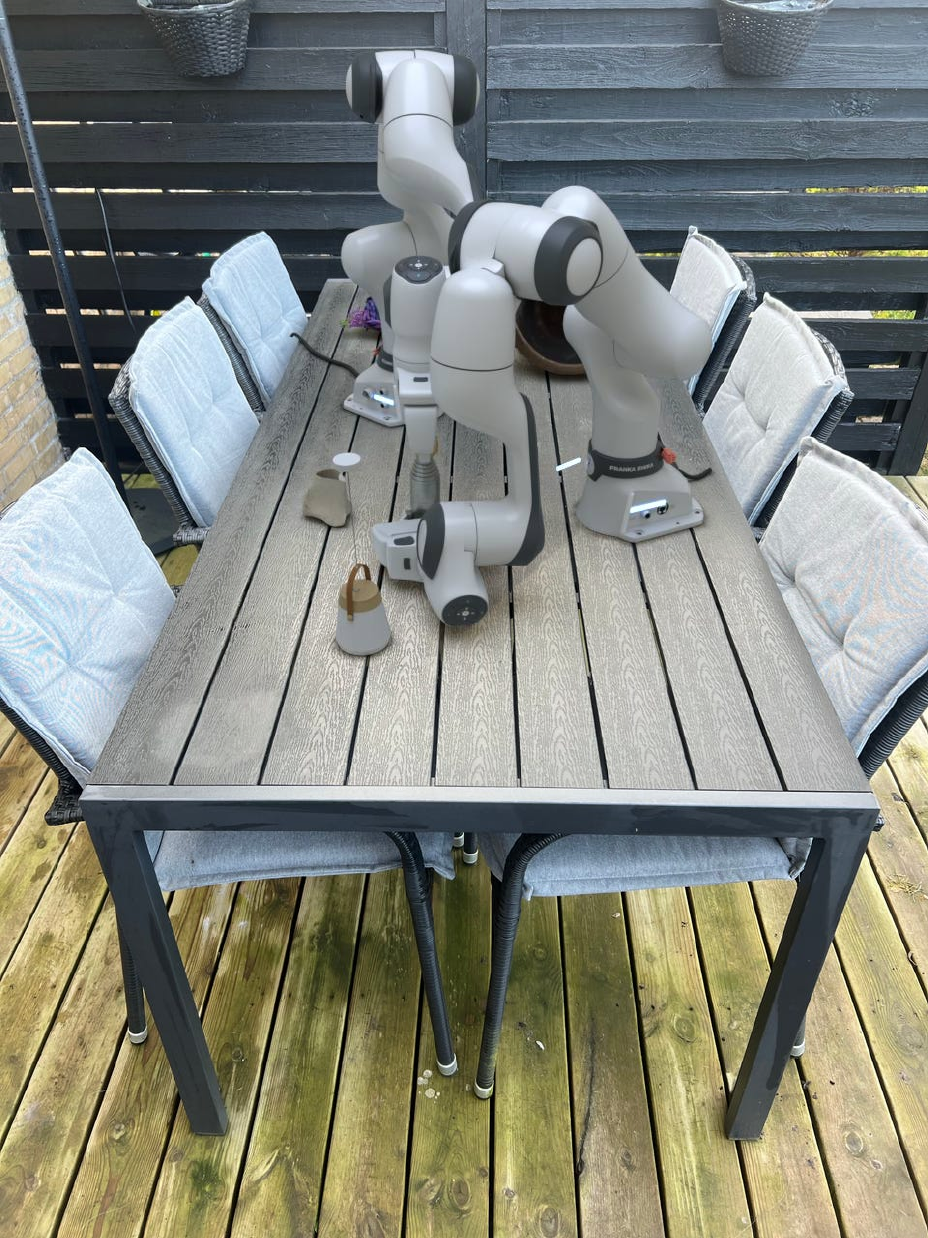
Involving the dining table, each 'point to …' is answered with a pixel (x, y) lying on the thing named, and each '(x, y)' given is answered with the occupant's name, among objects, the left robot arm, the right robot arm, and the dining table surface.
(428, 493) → the bottle
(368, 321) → the decorative ornament
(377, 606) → the pendant light
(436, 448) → the cap
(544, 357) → the pot
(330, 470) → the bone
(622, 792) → the dining table surface
